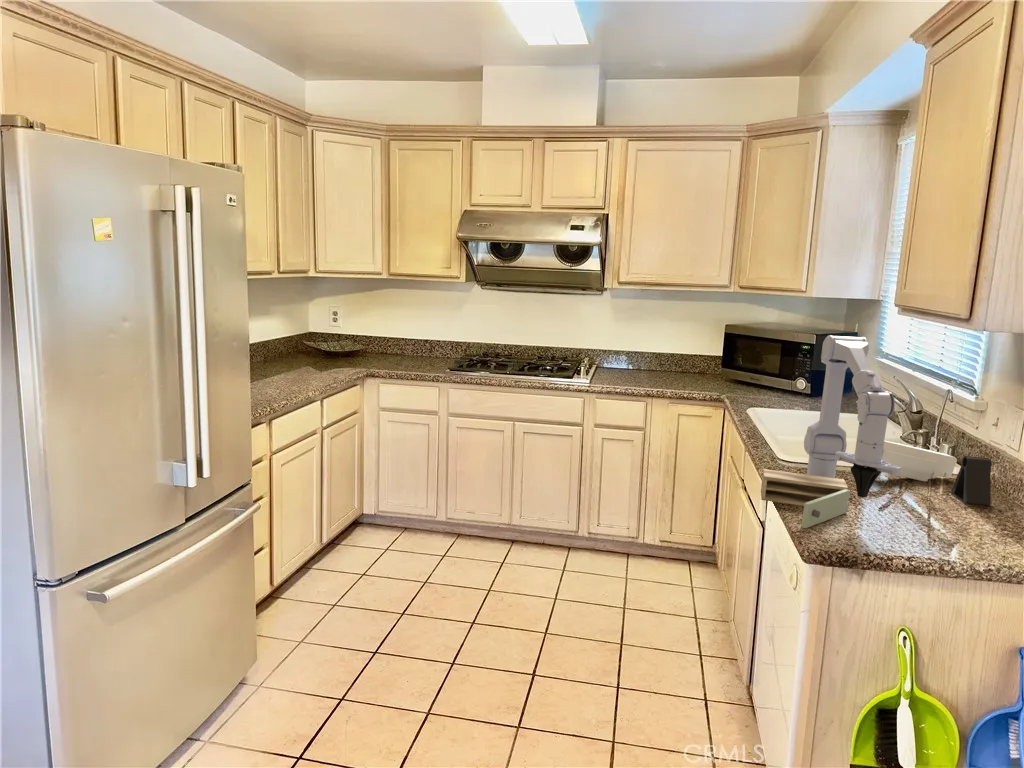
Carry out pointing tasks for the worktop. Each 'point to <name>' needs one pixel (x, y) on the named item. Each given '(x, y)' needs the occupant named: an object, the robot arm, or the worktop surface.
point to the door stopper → (973, 481)
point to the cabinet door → (825, 508)
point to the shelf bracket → (918, 461)
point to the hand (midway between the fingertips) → (862, 496)
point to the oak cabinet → (797, 487)
